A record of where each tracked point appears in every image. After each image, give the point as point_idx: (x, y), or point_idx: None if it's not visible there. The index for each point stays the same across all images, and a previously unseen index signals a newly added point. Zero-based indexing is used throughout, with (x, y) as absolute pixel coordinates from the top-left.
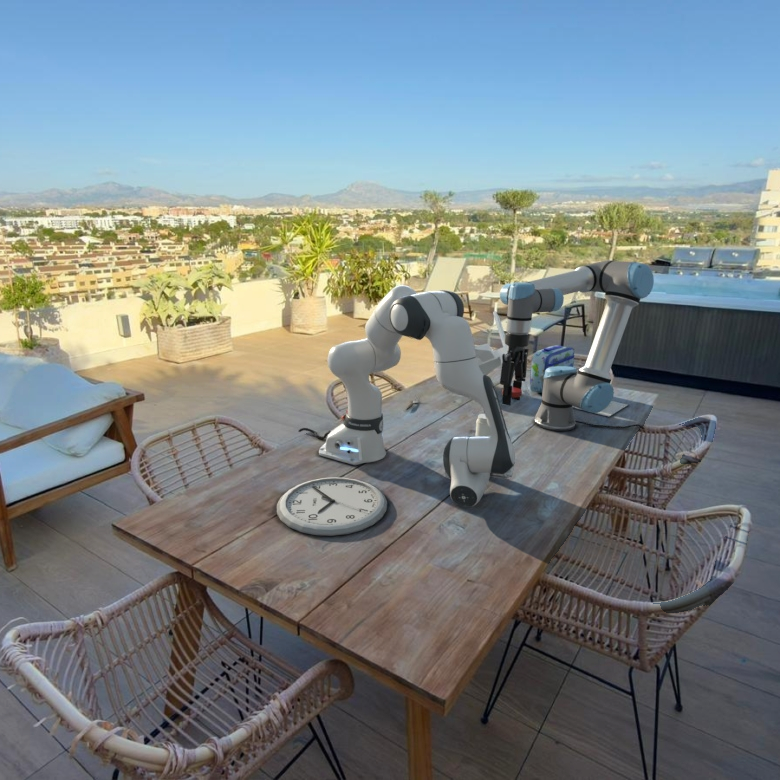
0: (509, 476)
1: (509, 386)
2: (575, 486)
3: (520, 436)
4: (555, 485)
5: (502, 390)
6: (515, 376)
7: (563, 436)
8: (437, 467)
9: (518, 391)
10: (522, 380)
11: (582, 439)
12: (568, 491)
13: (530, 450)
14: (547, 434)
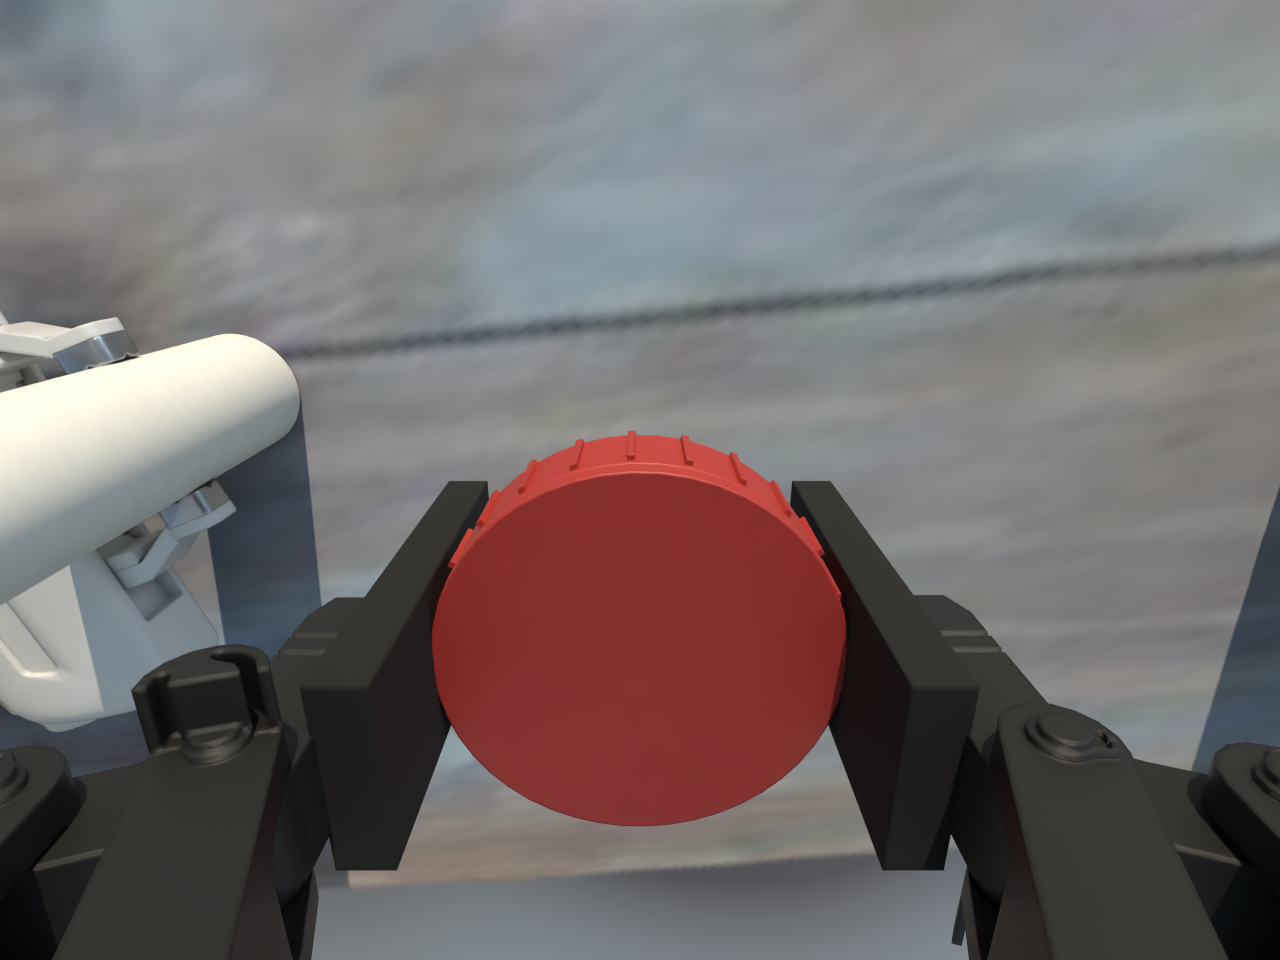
0: (40, 723)
1: (335, 822)
2: (522, 821)
3: (1056, 280)
4: (456, 755)
5: (518, 491)
6: (1009, 808)
7: (1230, 532)
8: (37, 79)
9: (612, 800)
10: (958, 908)
11: (1233, 644)
12: (445, 816)
13: (822, 465)
14: (1215, 428)
